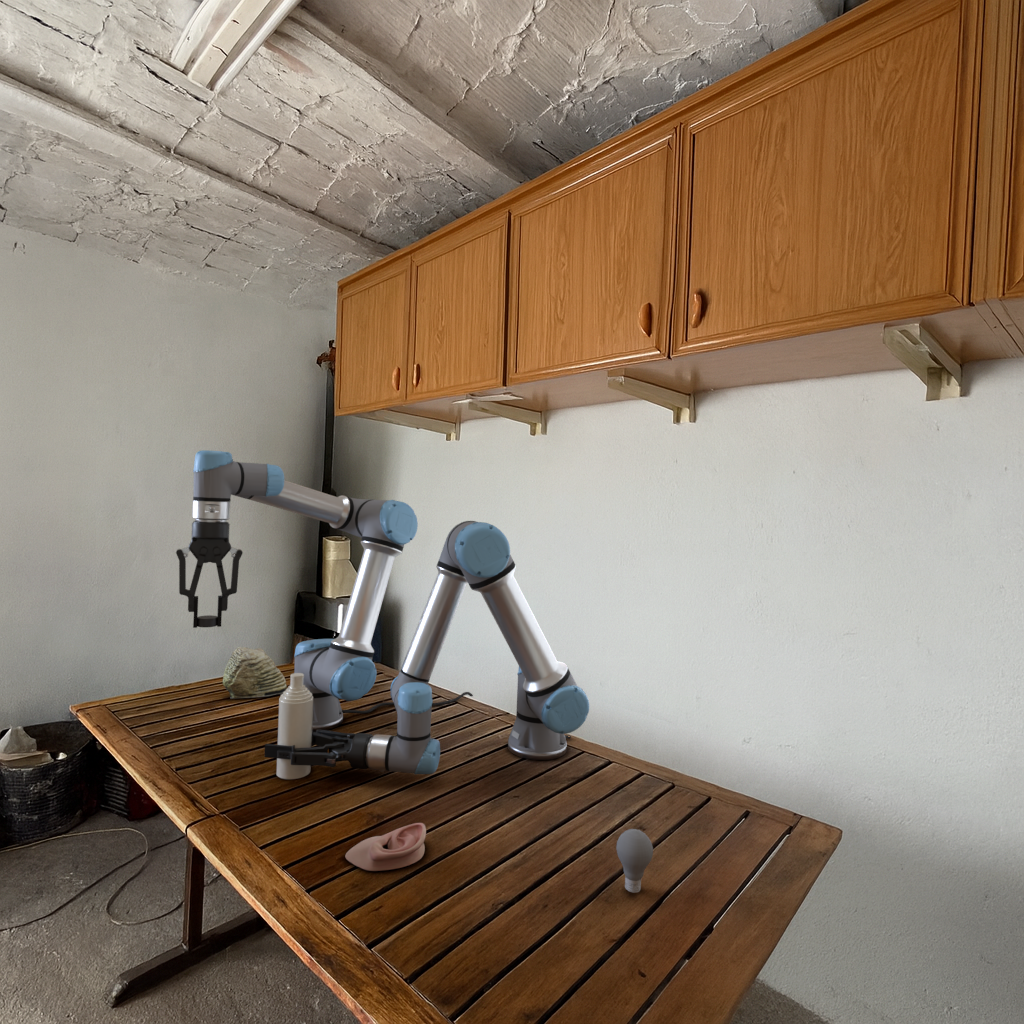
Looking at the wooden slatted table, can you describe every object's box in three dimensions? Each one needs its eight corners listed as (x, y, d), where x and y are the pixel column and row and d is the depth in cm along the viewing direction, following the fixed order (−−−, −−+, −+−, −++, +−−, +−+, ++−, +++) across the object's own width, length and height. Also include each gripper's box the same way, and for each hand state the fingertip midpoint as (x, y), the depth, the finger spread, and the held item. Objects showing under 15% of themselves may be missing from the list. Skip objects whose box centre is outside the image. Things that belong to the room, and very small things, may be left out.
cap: (221, 624, 142) (221, 616, 142) (208, 628, 138) (208, 619, 138) (206, 623, 143) (206, 614, 143) (192, 626, 139) (192, 617, 139)
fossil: (218, 695, 195) (220, 647, 195) (278, 685, 208) (279, 640, 207) (228, 703, 189) (230, 653, 188) (289, 692, 201) (290, 645, 201)
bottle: (274, 780, 140) (278, 679, 140) (278, 766, 148) (281, 670, 147) (309, 778, 142) (313, 678, 142) (311, 764, 149) (315, 669, 149)
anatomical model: (337, 842, 109) (366, 811, 120) (336, 865, 109) (365, 832, 120) (410, 854, 106) (432, 821, 117) (409, 878, 106) (432, 842, 118)
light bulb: (610, 879, 108) (613, 822, 108) (644, 879, 109) (647, 822, 109) (619, 902, 102) (622, 840, 102) (655, 901, 103) (658, 840, 103)
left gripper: (166, 520, 133) (162, 631, 133) (254, 522, 140) (250, 627, 141) (167, 518, 140) (163, 624, 140) (251, 520, 147) (247, 621, 148)
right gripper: (354, 788, 133) (250, 779, 135) (383, 750, 153) (293, 743, 155) (356, 753, 133) (252, 744, 135) (384, 719, 153) (294, 712, 155)
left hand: (207, 625), depth 140 cm, fingers closed on cap, 4 cm apart
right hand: (274, 743), depth 145 cm, fingers closed on bottle, 7 cm apart
